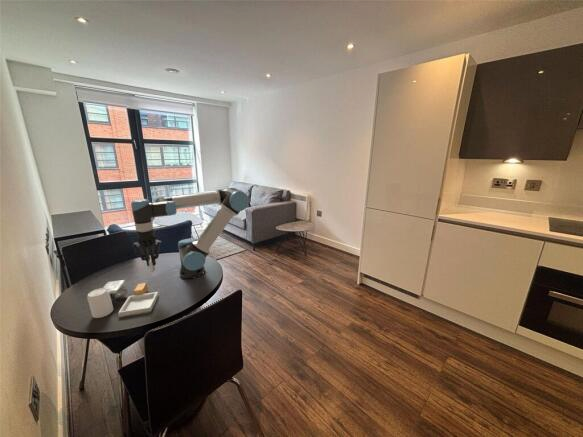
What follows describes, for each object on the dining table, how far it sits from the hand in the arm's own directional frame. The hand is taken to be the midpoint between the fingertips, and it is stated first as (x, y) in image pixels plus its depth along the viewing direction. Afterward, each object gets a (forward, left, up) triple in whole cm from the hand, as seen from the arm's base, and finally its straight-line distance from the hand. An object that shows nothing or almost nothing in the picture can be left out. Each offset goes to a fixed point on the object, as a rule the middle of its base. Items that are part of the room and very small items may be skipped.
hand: (152, 270), depth 125 cm
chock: (+8, -1, -14) cm, 16 cm away
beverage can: (+21, +11, -14) cm, 28 cm away
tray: (+5, +10, -14) cm, 18 cm away
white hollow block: (+19, 0, -14) cm, 24 cm away
